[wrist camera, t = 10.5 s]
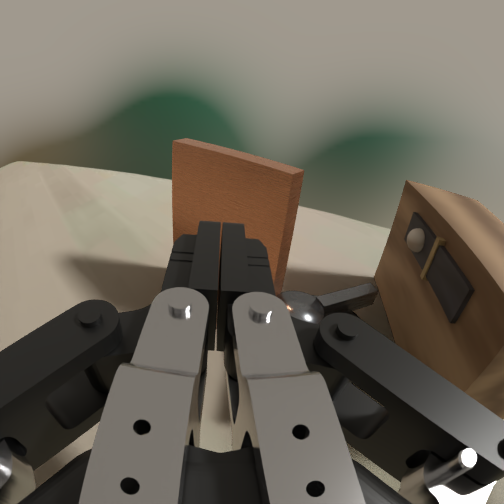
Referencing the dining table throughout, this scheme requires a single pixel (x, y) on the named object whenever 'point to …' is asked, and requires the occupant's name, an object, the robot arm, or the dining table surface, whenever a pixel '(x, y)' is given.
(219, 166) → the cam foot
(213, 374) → the dining table surface
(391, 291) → the wooden box
